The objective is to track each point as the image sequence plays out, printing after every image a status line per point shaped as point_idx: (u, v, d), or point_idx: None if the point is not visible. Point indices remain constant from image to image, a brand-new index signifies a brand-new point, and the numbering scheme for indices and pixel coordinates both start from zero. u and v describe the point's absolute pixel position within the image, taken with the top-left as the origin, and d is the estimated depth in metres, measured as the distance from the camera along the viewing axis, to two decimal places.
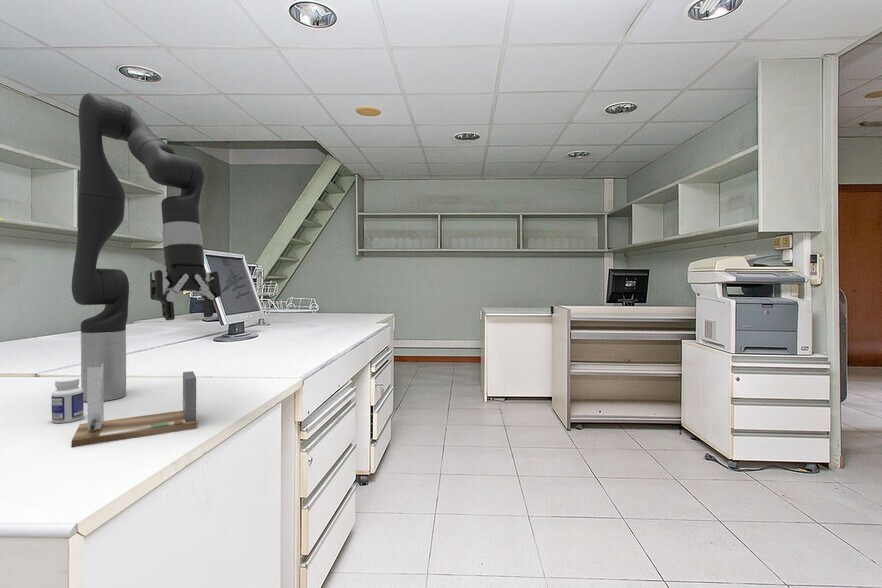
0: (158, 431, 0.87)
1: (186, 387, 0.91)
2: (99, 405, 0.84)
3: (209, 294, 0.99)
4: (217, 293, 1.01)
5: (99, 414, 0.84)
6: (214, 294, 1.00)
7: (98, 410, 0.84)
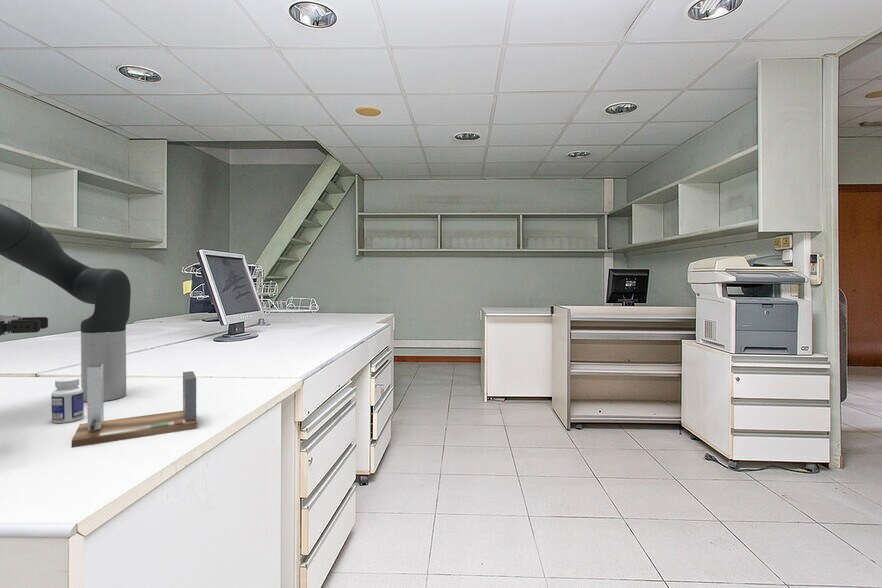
0: (158, 431, 0.87)
1: (186, 387, 0.91)
2: (99, 405, 0.84)
3: None
4: None
5: (99, 414, 0.84)
6: None
7: (98, 410, 0.84)
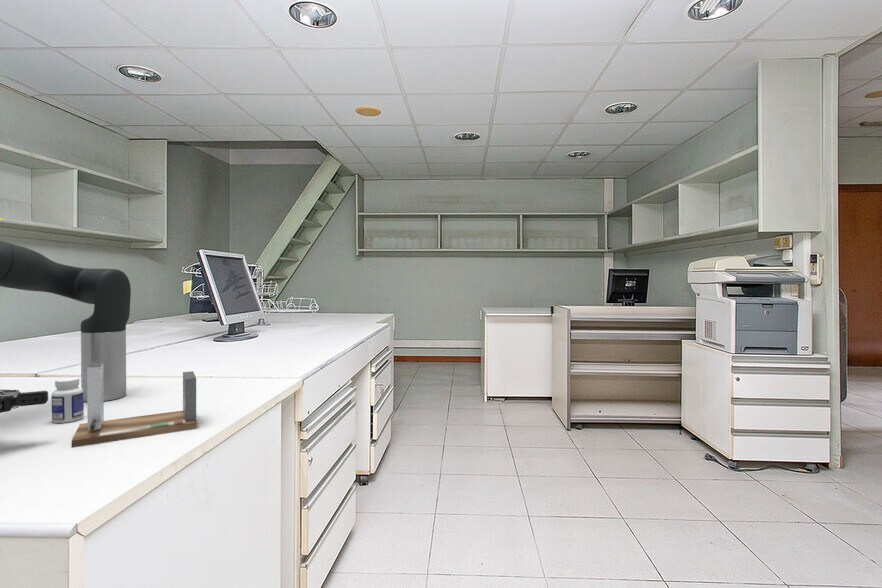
0: (158, 431, 0.87)
1: (186, 387, 0.91)
2: (99, 405, 0.84)
3: None
4: None
5: (99, 414, 0.84)
6: None
7: (98, 410, 0.84)
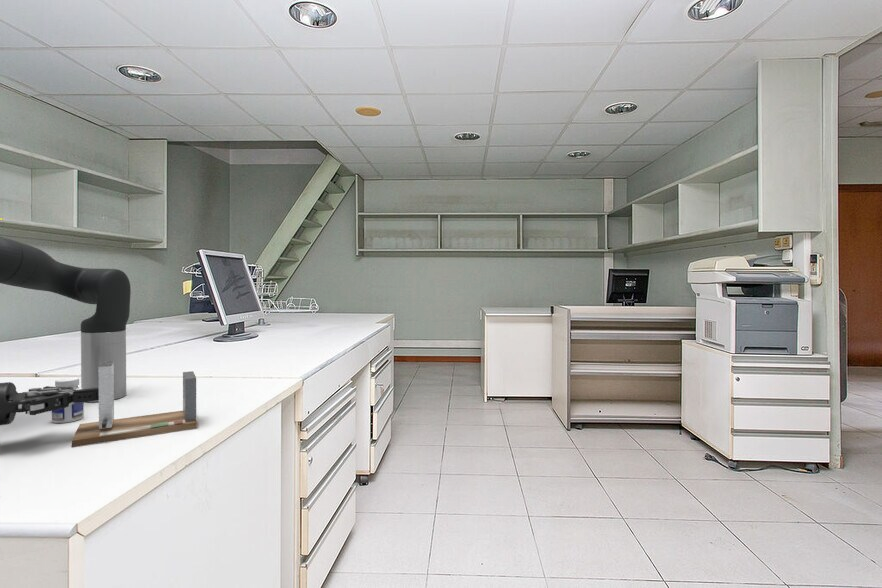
0: (158, 431, 0.87)
1: (186, 387, 0.91)
2: (110, 404, 0.85)
3: None
4: None
5: (110, 413, 0.85)
6: None
7: (109, 409, 0.85)
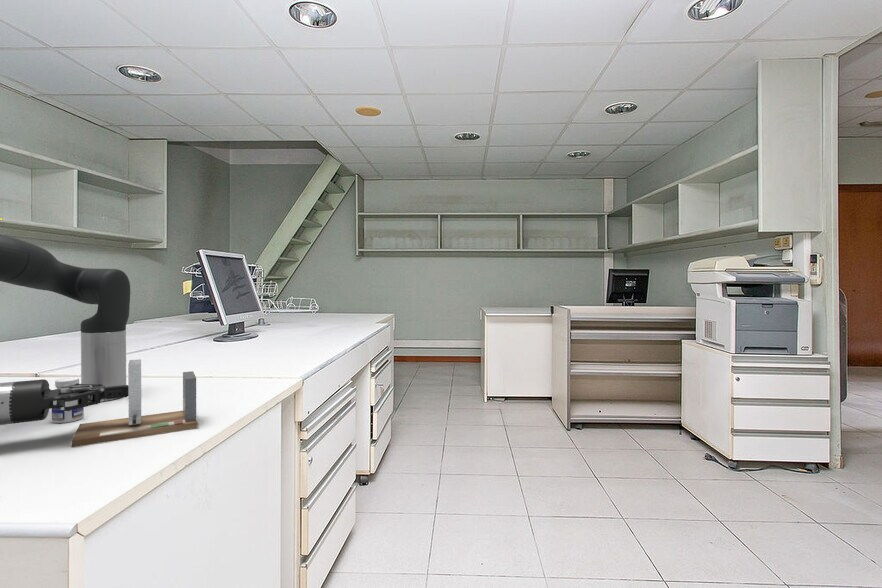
0: (158, 431, 0.87)
1: (186, 387, 0.91)
2: (139, 400, 0.88)
3: None
4: None
5: (139, 409, 0.88)
6: None
7: (138, 405, 0.88)
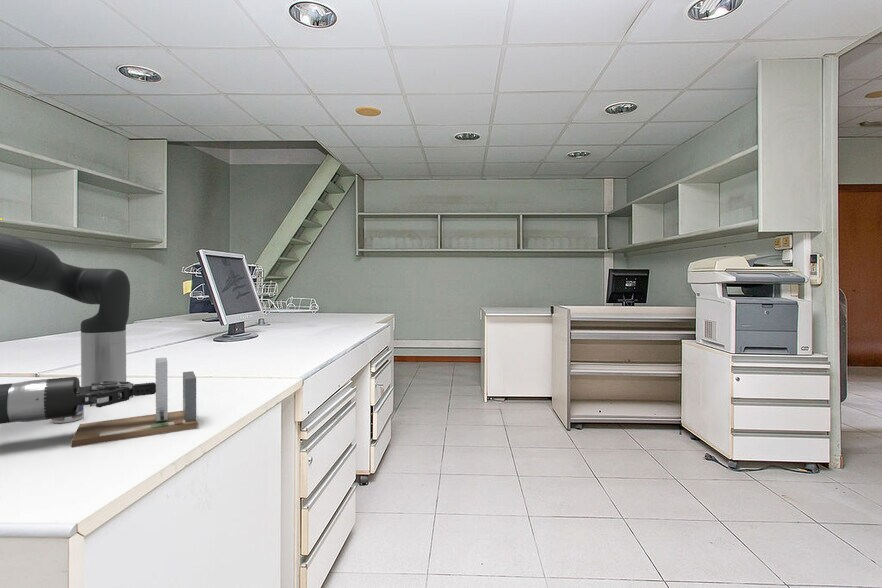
0: (158, 431, 0.87)
1: (186, 387, 0.91)
2: (166, 397, 0.90)
3: None
4: None
5: (166, 406, 0.90)
6: None
7: (165, 402, 0.90)
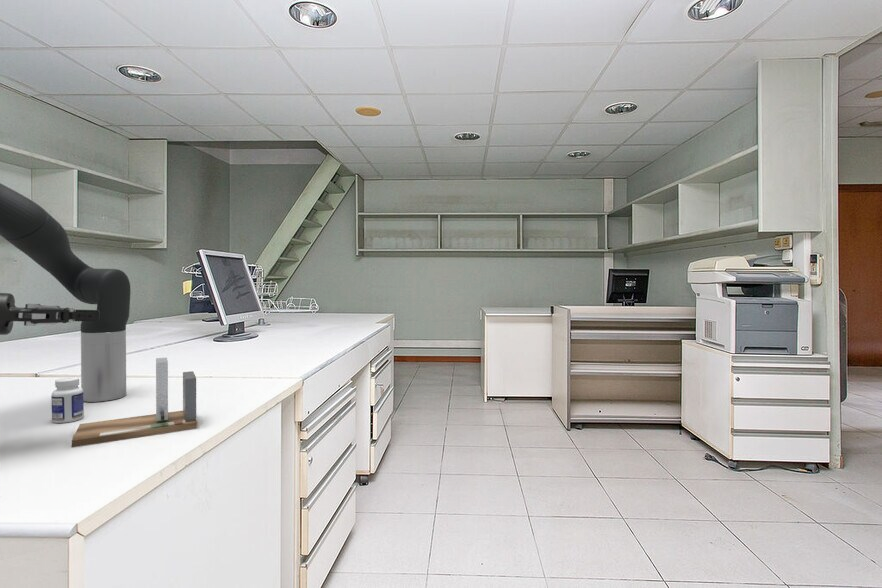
0: (158, 431, 0.87)
1: (186, 387, 0.91)
2: (166, 397, 0.90)
3: None
4: None
5: (166, 406, 0.90)
6: None
7: (165, 402, 0.90)
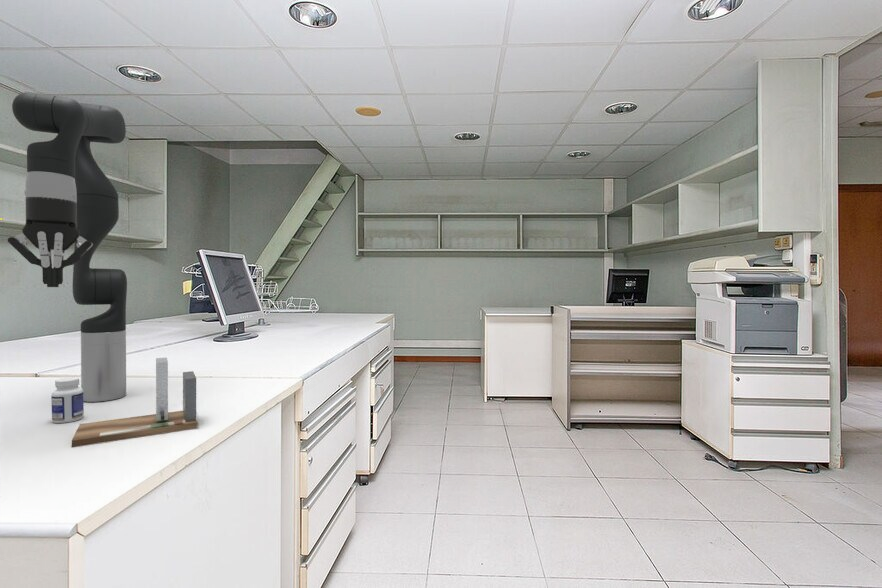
0: (158, 431, 0.87)
1: (186, 387, 0.91)
2: (166, 397, 0.90)
3: (53, 261, 0.85)
4: (66, 260, 0.86)
5: (166, 406, 0.90)
6: None
7: (165, 402, 0.90)
